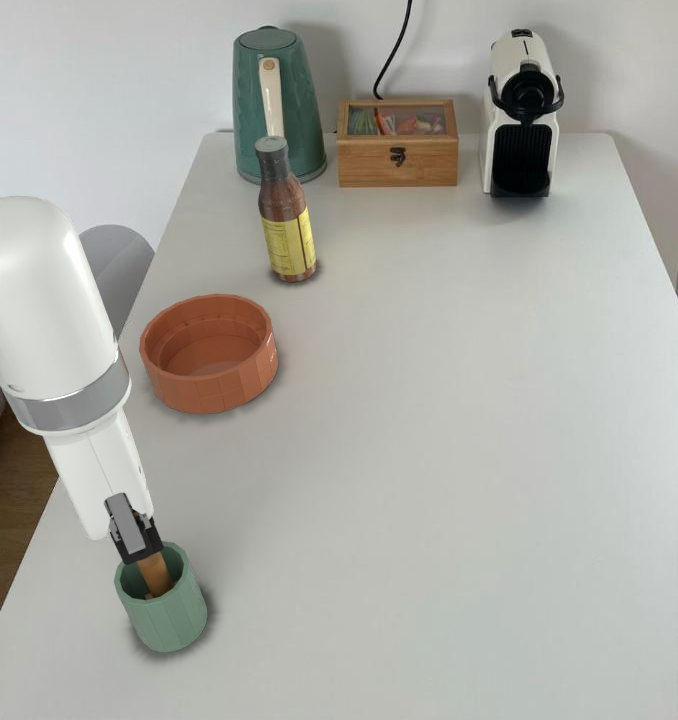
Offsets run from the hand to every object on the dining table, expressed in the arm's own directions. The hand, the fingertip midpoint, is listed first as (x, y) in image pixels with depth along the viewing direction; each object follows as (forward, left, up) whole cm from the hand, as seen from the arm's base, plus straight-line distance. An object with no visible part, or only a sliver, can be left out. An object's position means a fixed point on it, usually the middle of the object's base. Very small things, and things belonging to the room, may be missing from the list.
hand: (139, 541), depth 66 cm
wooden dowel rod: (0, 0, -11) cm, 11 cm away
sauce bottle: (+30, +44, -13) cm, 55 cm away
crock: (0, 0, -12) cm, 12 cm away
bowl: (+14, +30, -12) cm, 35 cm away
